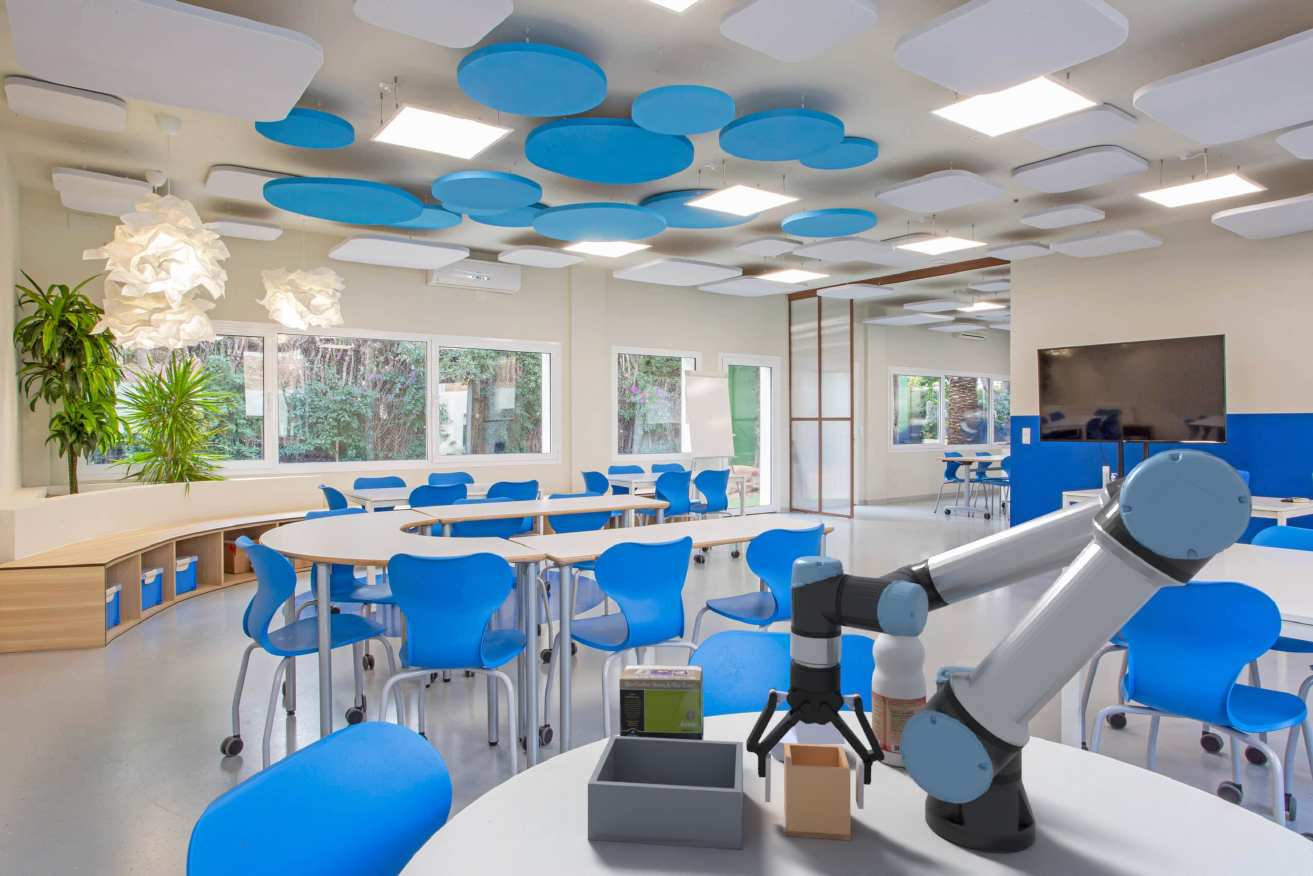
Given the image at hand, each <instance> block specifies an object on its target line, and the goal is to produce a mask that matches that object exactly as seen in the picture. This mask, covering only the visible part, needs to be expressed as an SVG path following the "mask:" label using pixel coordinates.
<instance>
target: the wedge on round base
mask: <svg viewBox="0 0 1313 876" xmlns="http://www.w3.org/2000/svg"><path fill="white" fill-rule="evenodd" d="M774 728H775V727H773V728H771V729H770V730H769V731H768V732H767V733H768V734H769V733H770V732H771V731H772V730H773V729H774ZM768 734H767V735H768ZM784 743H800V744H820V745H846V739H845V738H844V737H843V735H842V734H841V733H840V732H839V730H838V729H836V728H835V726H834V725H833V724H832V723H831V721H830V722H829V723H827V724H826V725H819V724H816V723H813V724H804V722H802V721H799V722H798V723H797V724H796V725H795V726H794V727H792V728H791V729H790V730H789V731H788V732H787V733H786V734H785V736H784V737H783V738H782V739H781V740H780V741H779V742H778V743H777V744H776V745H775V746H774V747H773V749H772V750H771V751H770V752H771V755H772V756H773V757H774V758H773V757H772V758H773V759H775V758H776V759H775V760H777V759H779V760H778V761H780V760H782V761H781V762H783V761H784Z"/></svg>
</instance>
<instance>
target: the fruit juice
mask: <svg viewBox="0 0 1313 876" xmlns="http://www.w3.org/2000/svg"><path fill="white" fill-rule="evenodd" d="M925 650H926V649H925V647H924V645H923V643H922V641H921V640H920V638H919V636H916V637H907V636H892V635H889V634H885V633H878V636H877V637H876V639H874V642H873V645H872V656H873V660H874V665H875V667H874V670H873V673H872V679H871V728H872V730H873V732H874V734H875V736H876V738H877V741H878V743H879V745H880V747H881V749H882V751H883V754H884V756H885V758H884V760H882V761H880V762H881V763H883V764H886V765H889V766H892V767H899V768H905V766H904V764H903V761H902V757H901V753H900V746H899V745H900V736H901V733H902V731H903V729H904V726H905V724H906V722H907V720H908V719H909V718H910V717H911V716H913V715H914V714H917V713H918V712H919V711H920V710H921V709H922V708H923V706H924V705H925V704H926V703H927V683H926V682H927V681H926V677H925V675H924V671H923V668H924V664H925V659H926V651H925Z"/></svg>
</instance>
